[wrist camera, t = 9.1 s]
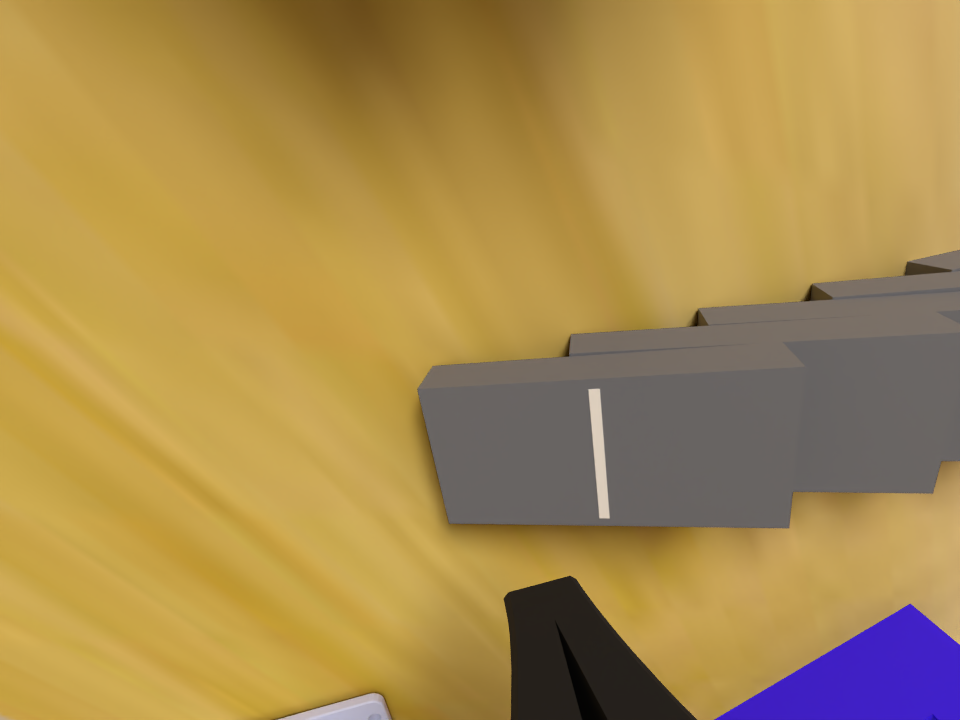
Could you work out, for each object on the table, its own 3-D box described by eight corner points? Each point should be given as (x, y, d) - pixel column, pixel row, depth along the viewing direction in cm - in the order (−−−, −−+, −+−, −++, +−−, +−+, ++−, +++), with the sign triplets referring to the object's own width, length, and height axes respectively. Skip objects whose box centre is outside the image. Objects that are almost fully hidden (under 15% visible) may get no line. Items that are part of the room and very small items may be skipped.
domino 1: (460, 491, 18) (769, 491, 15) (449, 523, 16) (789, 528, 14) (433, 365, 16) (782, 341, 13) (417, 389, 14) (806, 367, 12)
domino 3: (694, 434, 18) (1022, 432, 16) (702, 460, 17) (1066, 462, 15) (698, 308, 16) (1073, 283, 14) (708, 324, 15) (1129, 300, 13)
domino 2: (580, 460, 18) (900, 460, 16) (580, 489, 17) (933, 493, 14) (571, 334, 16) (934, 311, 14) (569, 353, 15) (975, 331, 12)
